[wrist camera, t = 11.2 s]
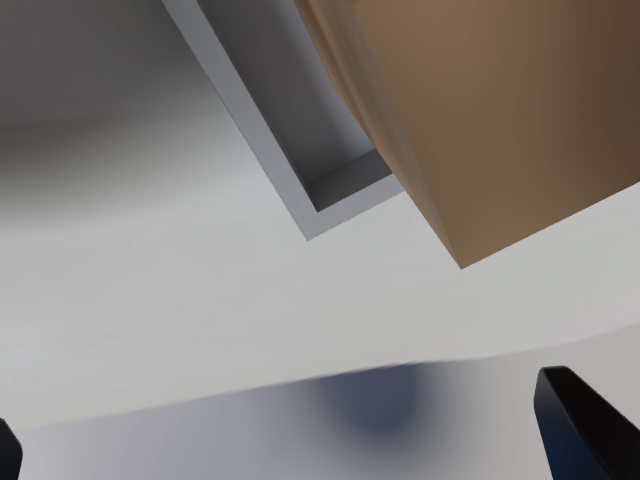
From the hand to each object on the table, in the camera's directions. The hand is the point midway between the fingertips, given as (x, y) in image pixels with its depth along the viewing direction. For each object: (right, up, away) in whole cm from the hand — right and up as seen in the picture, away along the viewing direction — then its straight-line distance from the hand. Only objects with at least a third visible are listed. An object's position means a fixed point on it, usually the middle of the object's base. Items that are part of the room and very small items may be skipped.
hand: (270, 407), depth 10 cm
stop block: (+3, +11, +8) cm, 14 cm away
